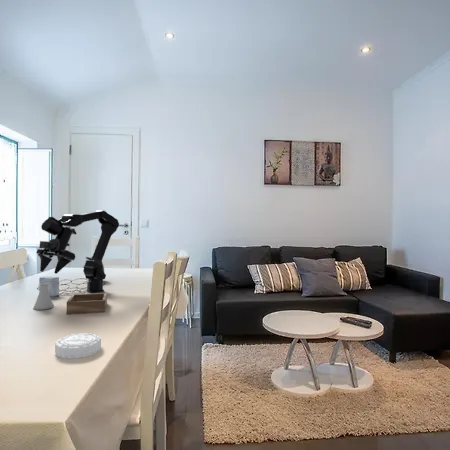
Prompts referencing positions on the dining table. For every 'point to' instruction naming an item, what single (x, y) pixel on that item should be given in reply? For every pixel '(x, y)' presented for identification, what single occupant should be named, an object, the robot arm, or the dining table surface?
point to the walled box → (86, 303)
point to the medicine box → (51, 284)
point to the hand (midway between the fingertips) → (48, 272)
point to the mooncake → (77, 345)
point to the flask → (43, 298)
